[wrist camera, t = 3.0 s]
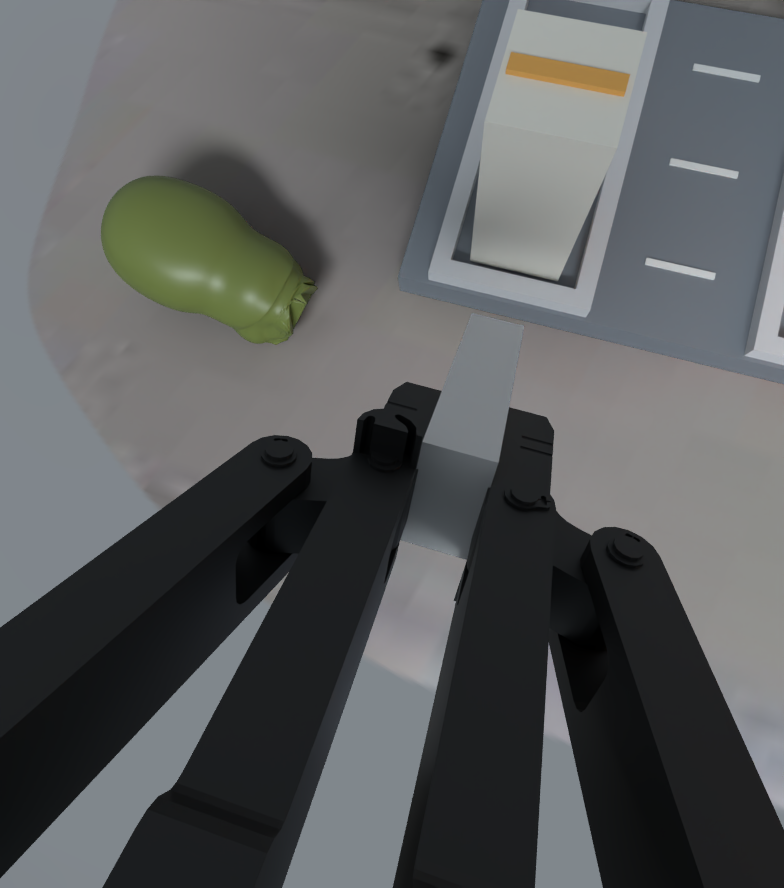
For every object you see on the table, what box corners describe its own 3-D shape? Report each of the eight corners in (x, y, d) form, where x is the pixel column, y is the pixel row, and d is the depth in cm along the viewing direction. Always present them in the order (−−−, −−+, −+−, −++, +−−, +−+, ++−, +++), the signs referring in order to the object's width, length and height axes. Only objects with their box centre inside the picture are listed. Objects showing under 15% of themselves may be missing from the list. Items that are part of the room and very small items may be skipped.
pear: (123, 128, 25) (335, 237, 25) (162, 193, 30) (337, 283, 31) (55, 239, 24) (273, 351, 25) (107, 286, 30) (286, 378, 30)
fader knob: (579, 200, 27) (649, 26, 18) (557, 281, 26) (619, 144, 17) (492, 181, 27) (518, 3, 18) (469, 260, 27) (484, 116, 18)
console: (985, 84, 28) (1033, 44, 26) (929, 419, 26) (976, 407, 24) (490, -4, 31) (493, -47, 29) (400, 290, 29) (396, 268, 26)
